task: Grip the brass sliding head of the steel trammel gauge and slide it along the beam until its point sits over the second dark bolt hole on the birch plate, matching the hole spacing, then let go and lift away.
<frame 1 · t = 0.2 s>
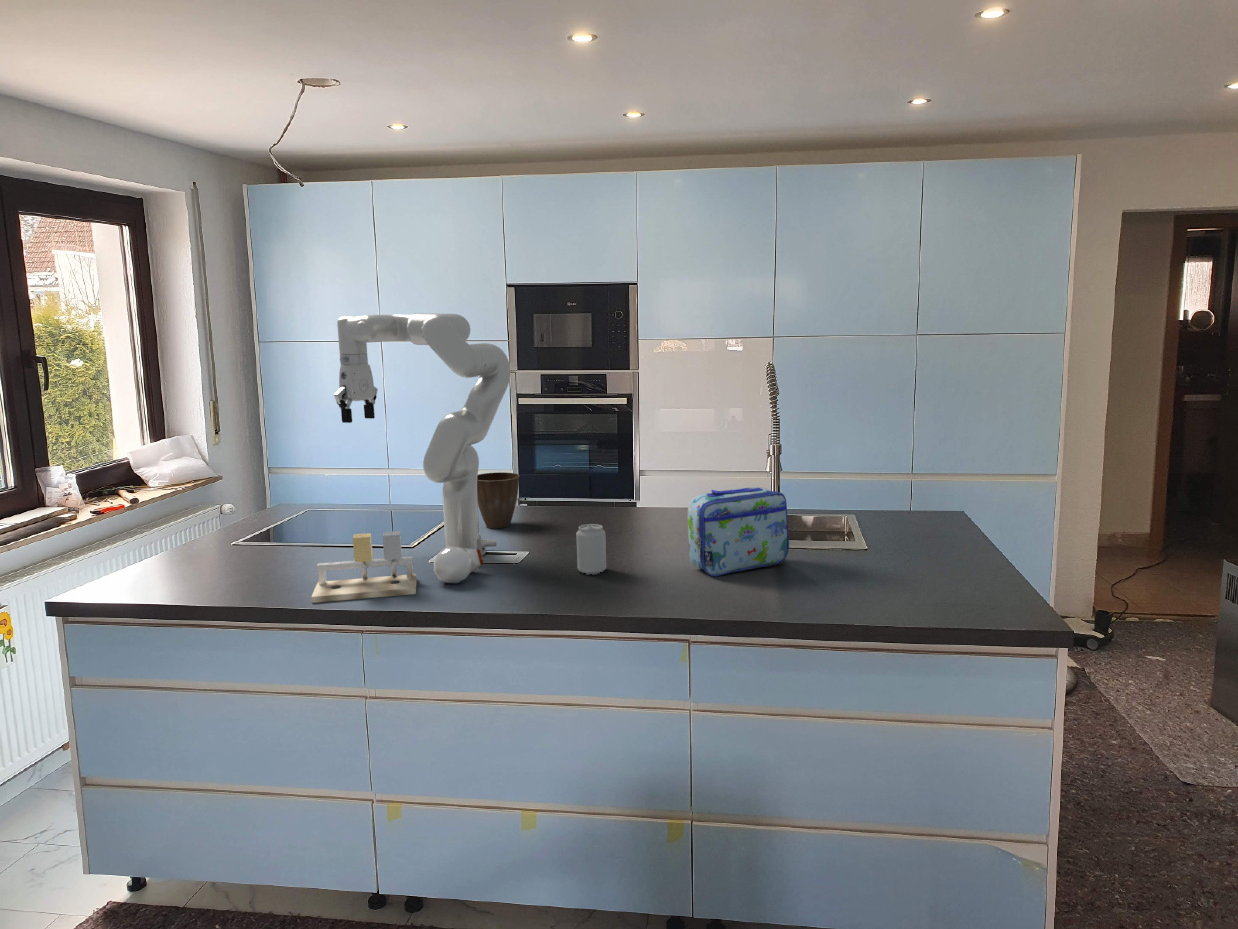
hand: (358, 420, 252), 37 cm above the worktop, tool pointing down, fingers open, 9 cm apart
hole plate: (366, 590, 216), on the worktop
can: (592, 572, 228), on the worktop
sliding head: (364, 556, 216), point 8 cm above the worktop, slide at 0.0 cm
potion bottle: (458, 579, 224), on the worktop
plant pot: (498, 526, 279), on the worktop
lunch box: (738, 568, 228), on the worktop
trammel frame: (364, 558, 216), on the hole plate, point 8 cm above the worktop
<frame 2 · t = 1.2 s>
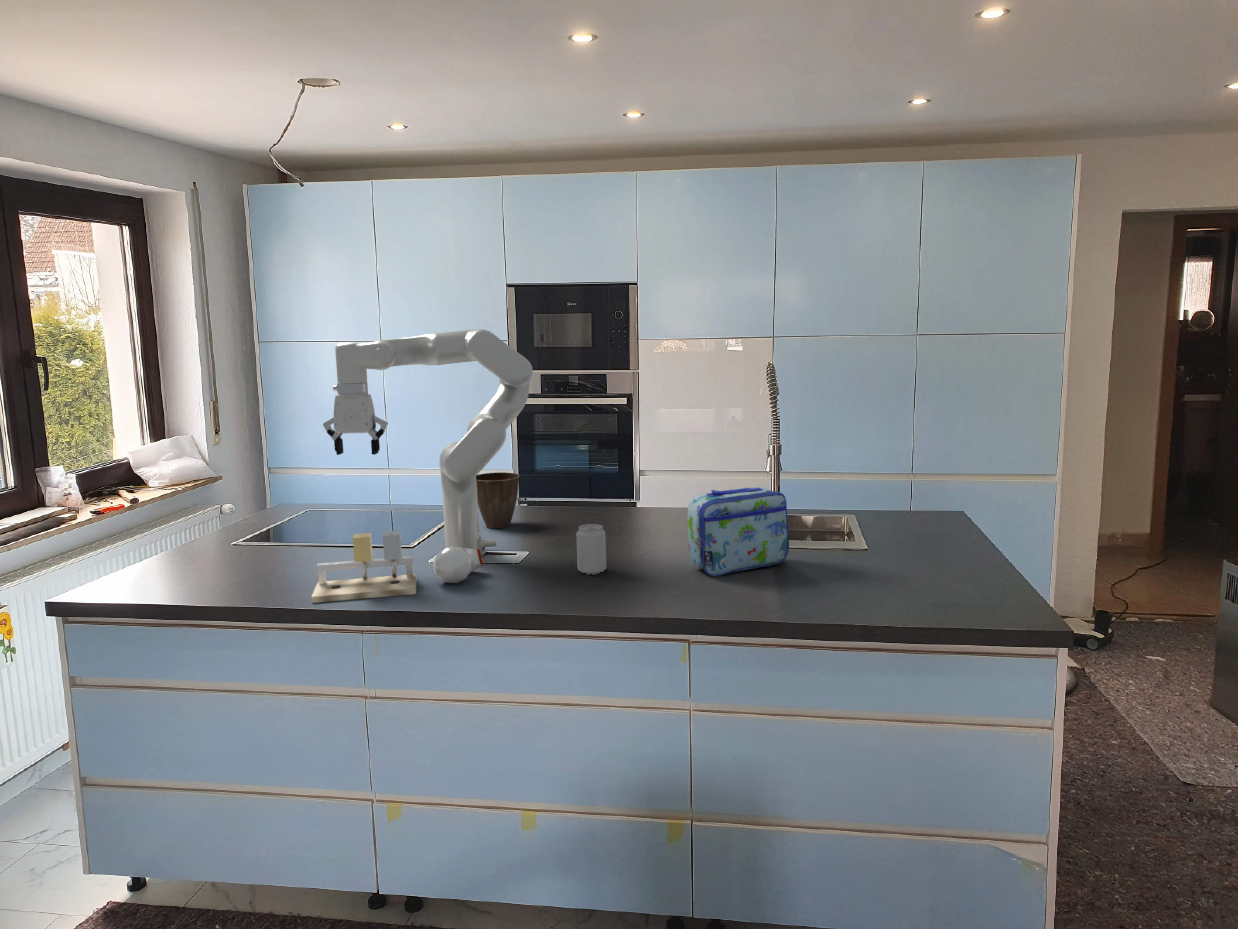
hand: (357, 453, 234), 30 cm above the worktop, tool pointing down, fingers open, 9 cm apart
nothing on the worktop moved.
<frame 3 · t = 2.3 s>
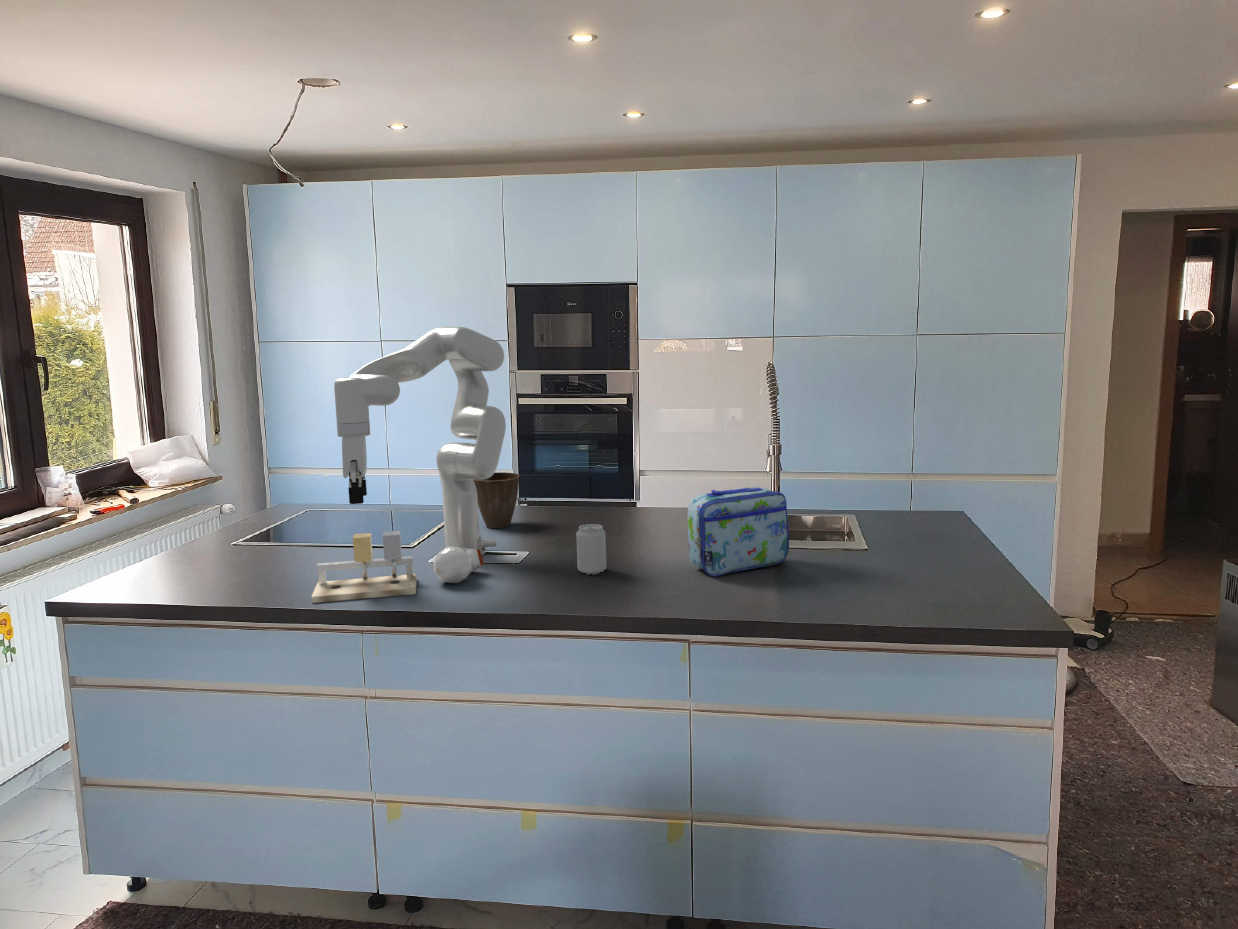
hand: (358, 499, 213), 23 cm above the worktop, tool pointing down, fingers open, 9 cm apart
nothing on the worktop moved.
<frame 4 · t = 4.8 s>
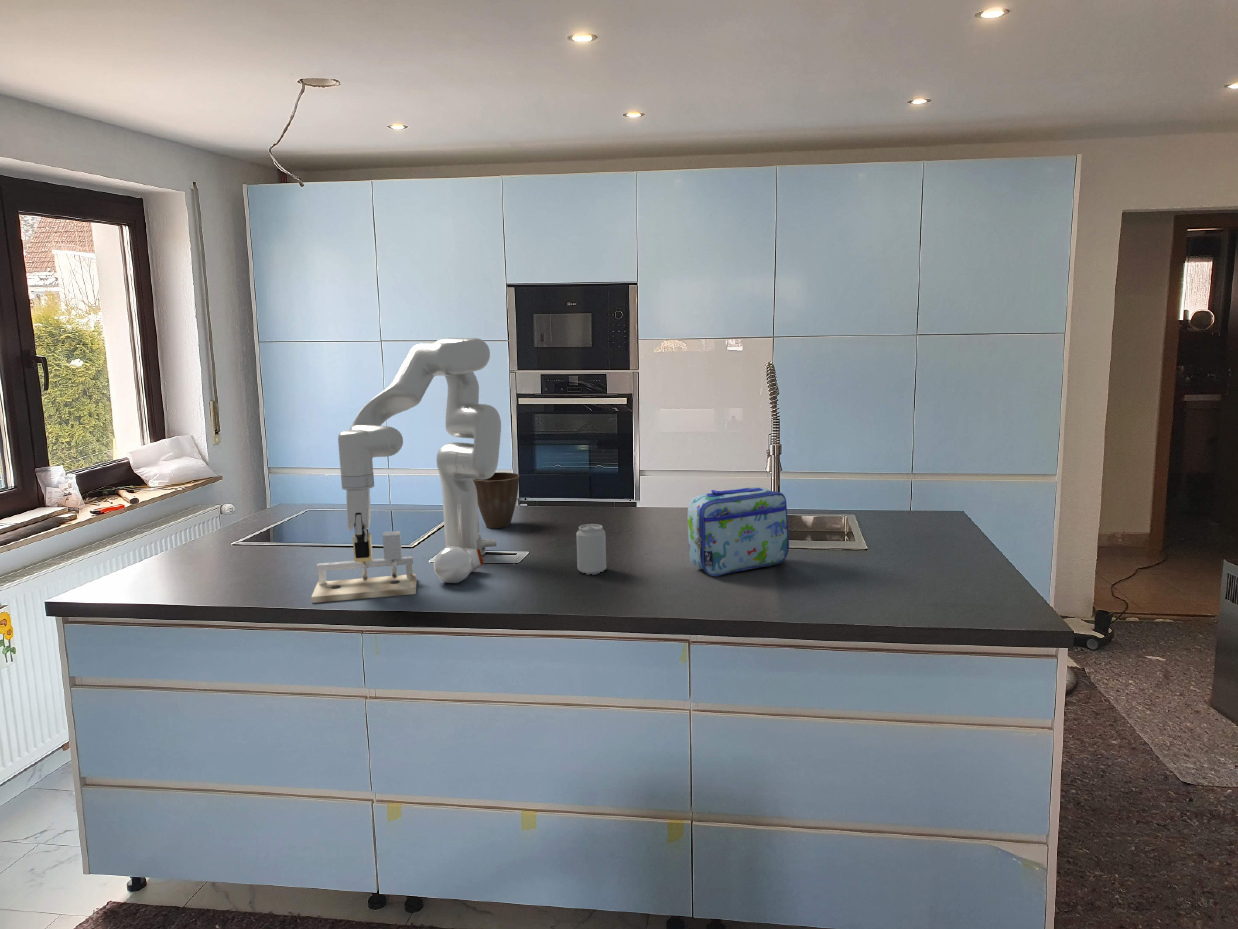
hand: (363, 554, 214), 9 cm above the worktop, tool pointing down, fingers closed on sliding head, 4 cm apart
sliding head: (364, 556, 216), point 8 cm above the worktop, slide at 0.0 cm, touching gripper
everything else where it was.
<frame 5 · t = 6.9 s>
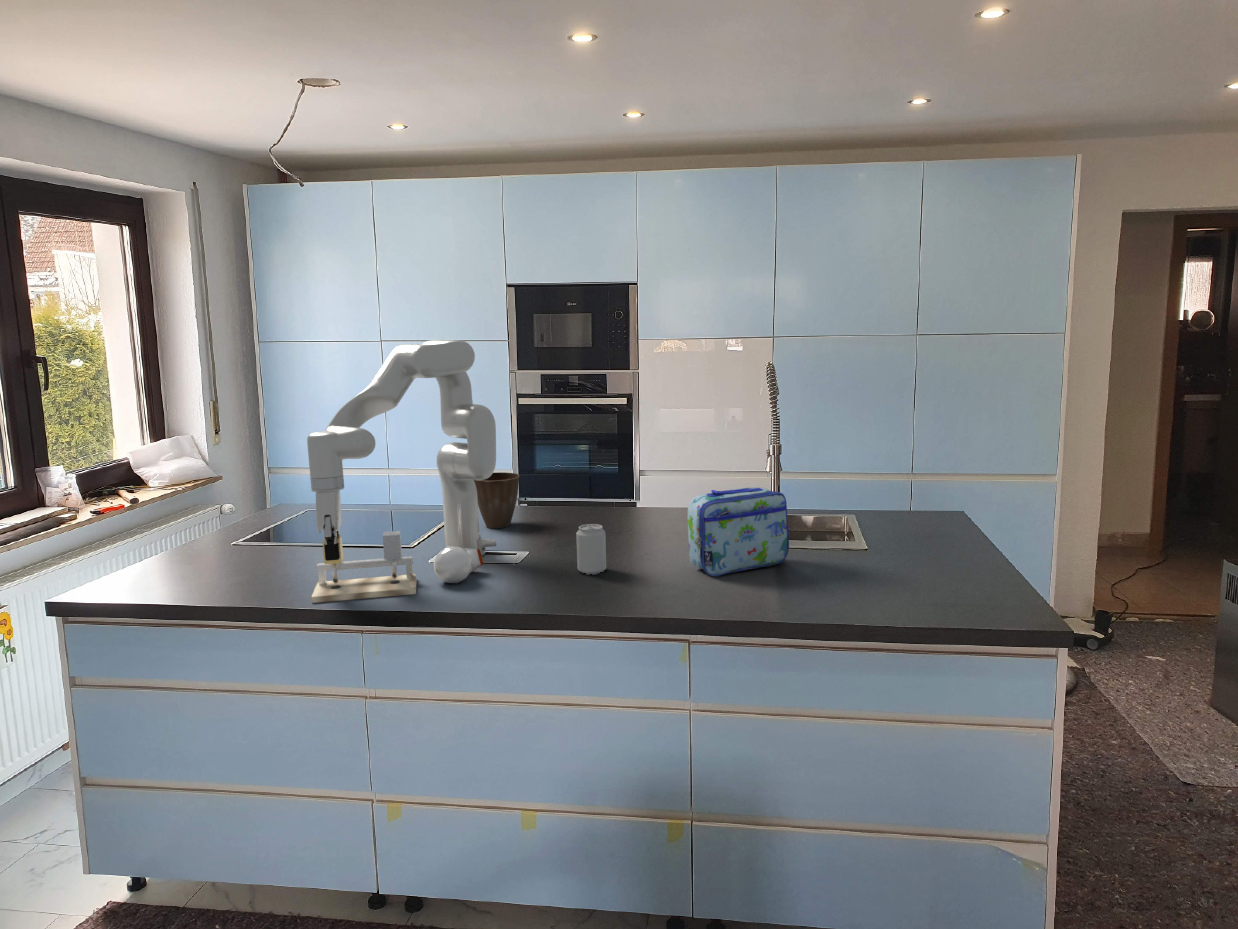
hand: (333, 556, 213), 9 cm above the worktop, tool pointing down, fingers closed on sliding head, 4 cm apart
sliding head: (334, 559, 215), point 8 cm above the worktop, slide at 7.0 cm, touching gripper
everything else where it was.
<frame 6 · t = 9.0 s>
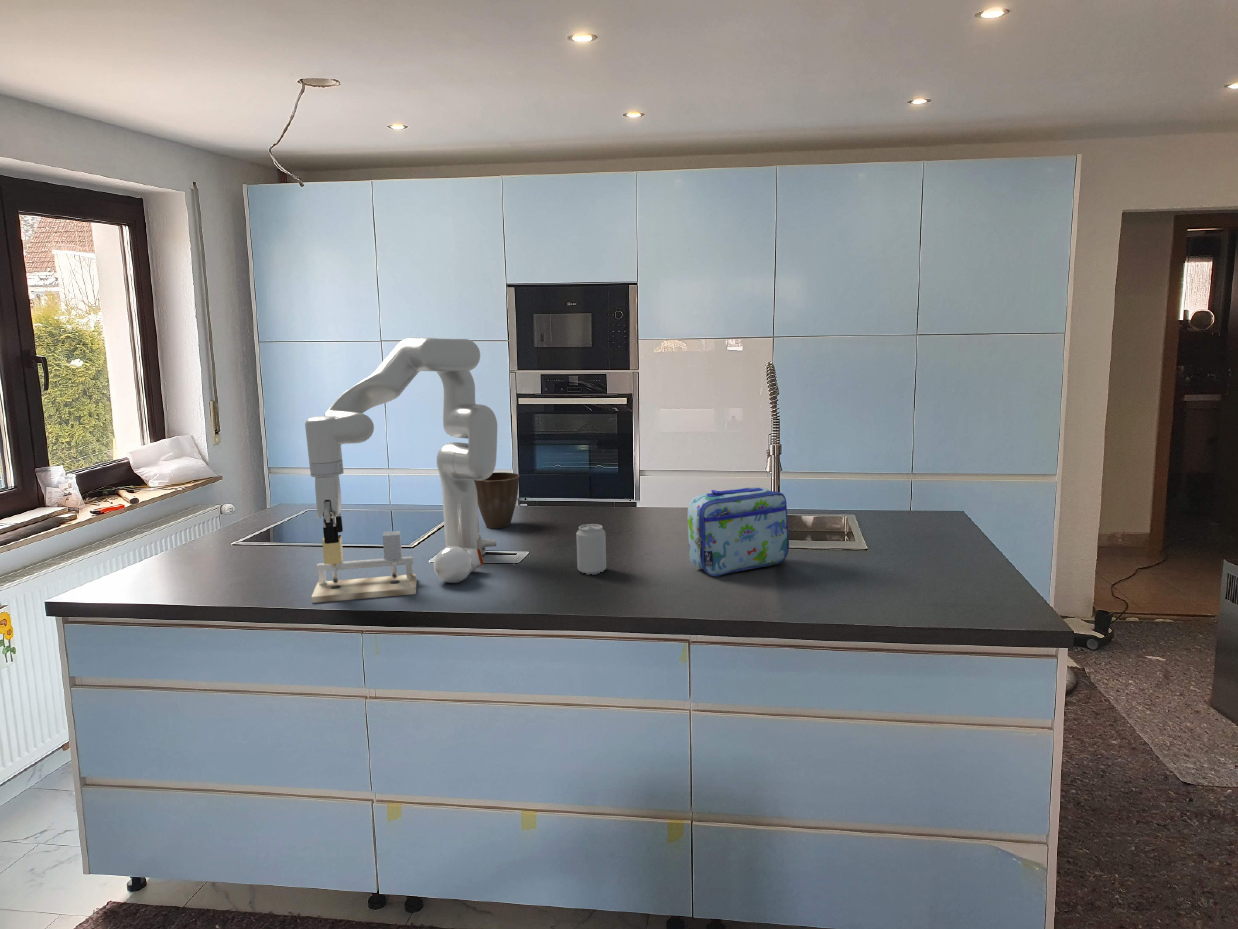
hand: (334, 537, 213), 14 cm above the worktop, tool pointing down, fingers open, 9 cm apart
sliding head: (334, 559, 215), point 8 cm above the worktop, slide at 7.0 cm
everything else where it was.
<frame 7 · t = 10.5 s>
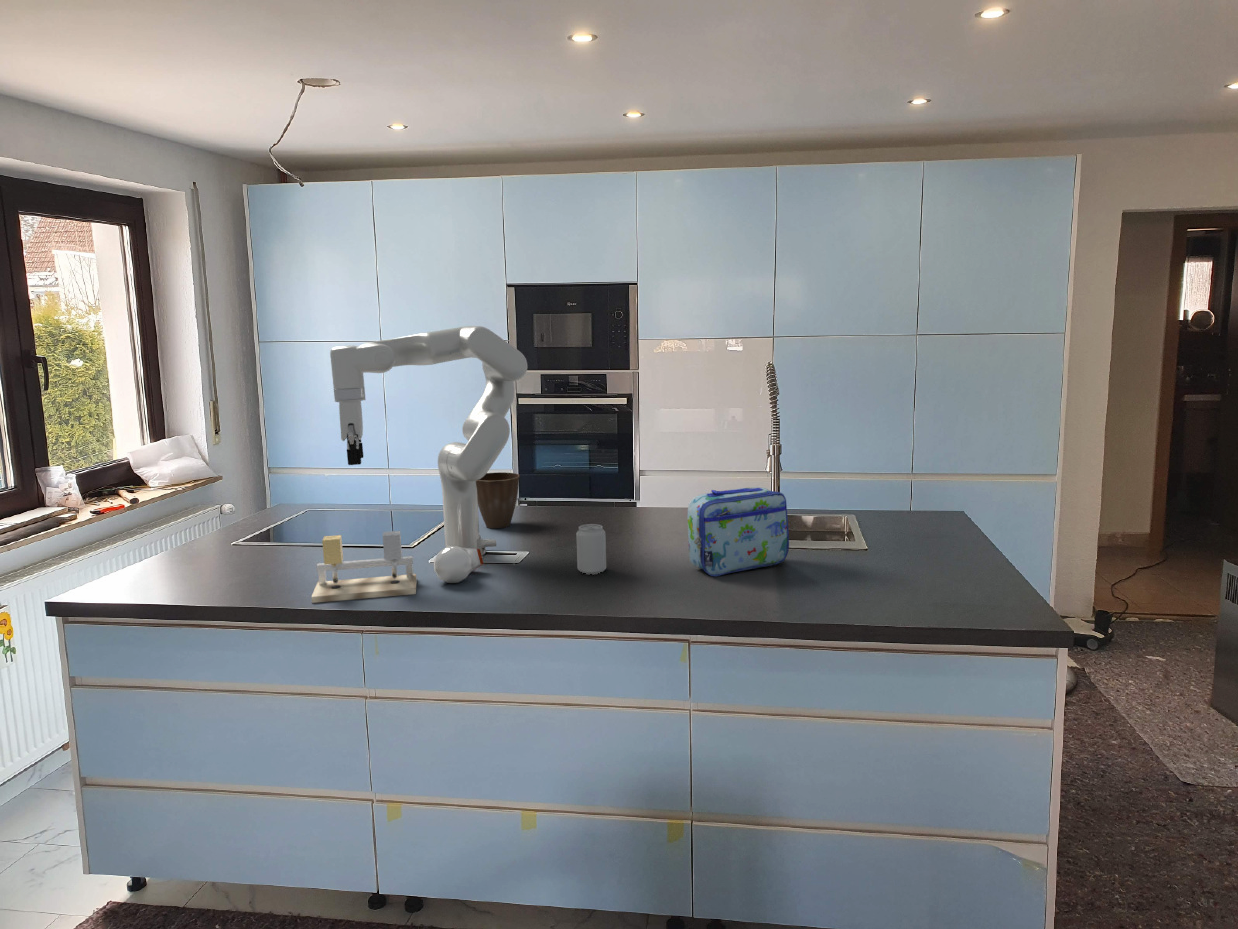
hand: (356, 461, 226), 30 cm above the worktop, tool pointing down, fingers open, 9 cm apart
nothing on the worktop moved.
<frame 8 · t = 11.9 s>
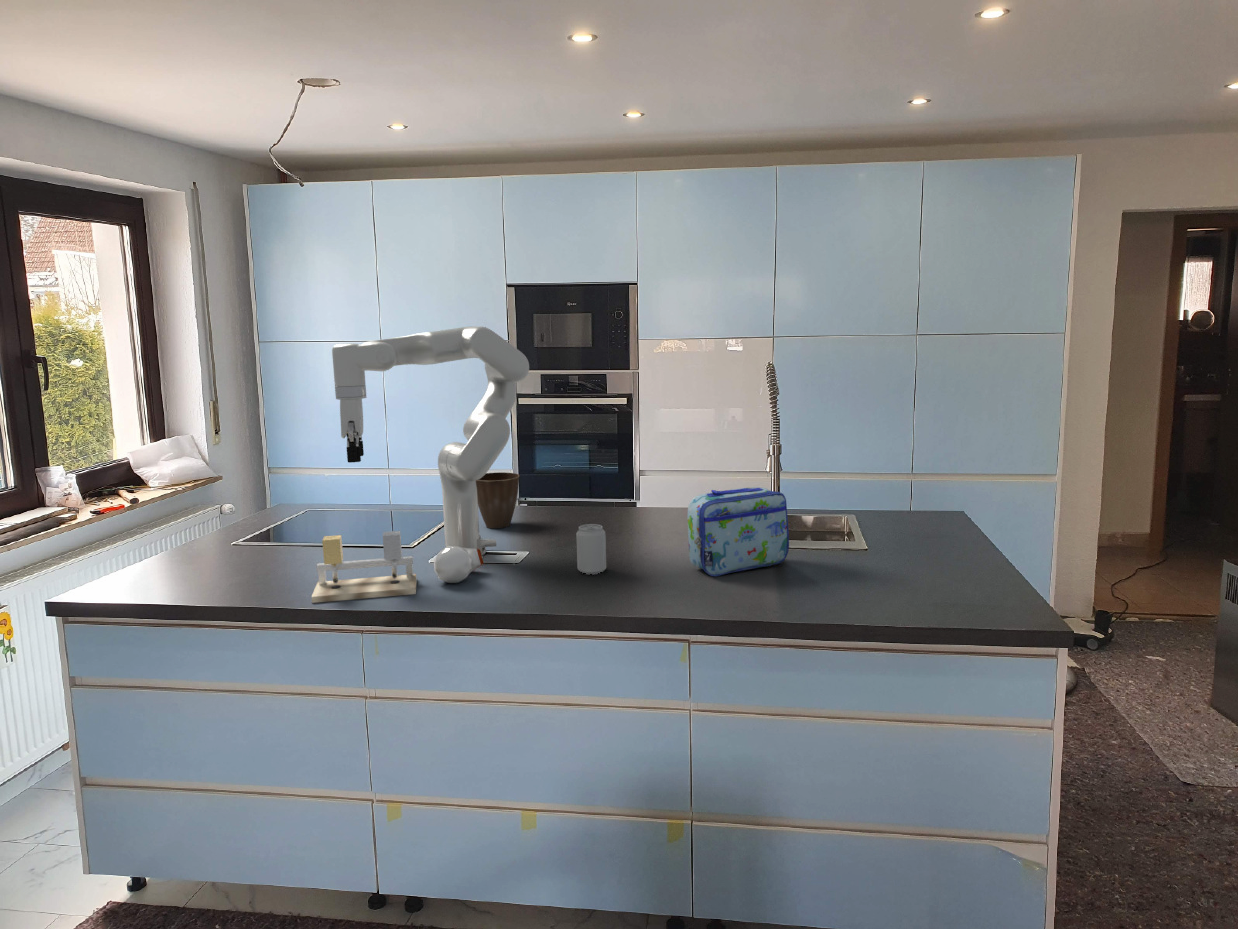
hand: (355, 459, 226), 30 cm above the worktop, tool pointing down, fingers open, 9 cm apart
nothing on the worktop moved.
at the end: sliding head slide at 7.0 cm; the gripper is holding nothing; potion bottle moved 0.4 cm from its start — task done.
